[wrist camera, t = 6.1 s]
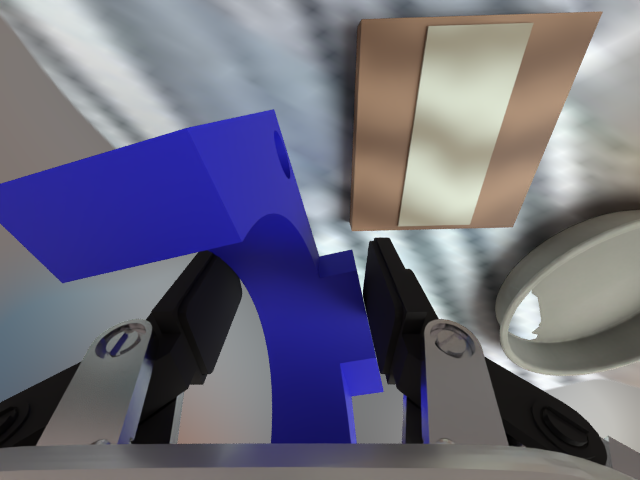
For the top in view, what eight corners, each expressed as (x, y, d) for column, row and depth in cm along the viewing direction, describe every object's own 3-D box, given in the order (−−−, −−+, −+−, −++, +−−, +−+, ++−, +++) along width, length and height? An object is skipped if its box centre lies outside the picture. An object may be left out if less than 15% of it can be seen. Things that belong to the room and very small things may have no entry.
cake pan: (552, 177, 24) (598, 192, 20) (763, 210, 25) (844, 230, 22) (450, 340, 36) (466, 369, 32) (599, 355, 37) (631, 384, 34)
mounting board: (357, 27, 18) (362, 18, 16) (574, 20, 18) (605, 10, 16) (349, 222, 26) (352, 232, 24) (499, 218, 25) (514, 228, 24)
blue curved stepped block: (371, 336, 14) (404, 482, 8) (295, 348, 14) (281, 493, 9) (318, 96, 8) (319, 88, 2) (190, 133, 8) (-33, 193, 3)
